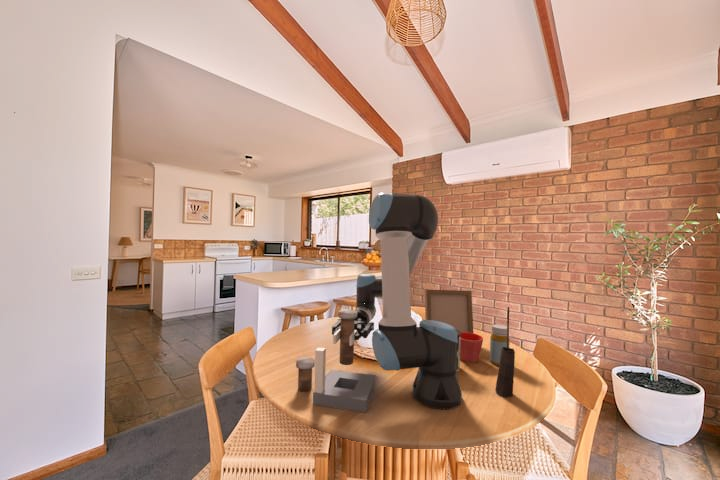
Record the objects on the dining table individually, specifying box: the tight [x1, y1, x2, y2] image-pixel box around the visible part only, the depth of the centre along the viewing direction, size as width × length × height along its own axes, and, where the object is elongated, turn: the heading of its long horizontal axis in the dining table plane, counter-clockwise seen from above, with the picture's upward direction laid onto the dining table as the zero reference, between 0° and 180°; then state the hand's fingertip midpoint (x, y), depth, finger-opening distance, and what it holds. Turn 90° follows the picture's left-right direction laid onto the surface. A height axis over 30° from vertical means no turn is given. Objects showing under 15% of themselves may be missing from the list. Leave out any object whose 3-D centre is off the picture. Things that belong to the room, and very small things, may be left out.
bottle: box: [489, 323, 510, 367], centre depth 121 cm, size 7×7×15 cm
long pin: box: [337, 309, 357, 366], centre depth 94 cm, size 6×6×16 cm
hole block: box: [312, 347, 377, 414], centre depth 94 cm, size 16×16×16 cm
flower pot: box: [460, 332, 484, 364], centre depth 124 cm, size 11×11×10 cm
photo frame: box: [424, 289, 474, 333], centre depth 147 cm, size 15×22×25 cm
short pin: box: [295, 356, 315, 393], centre depth 97 cm, size 6×6×9 cm
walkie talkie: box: [495, 306, 516, 398], centre depth 96 cm, size 9×10×28 cm
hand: (342, 340), depth 89 cm, fingers closed on long pin, 4 cm apart
